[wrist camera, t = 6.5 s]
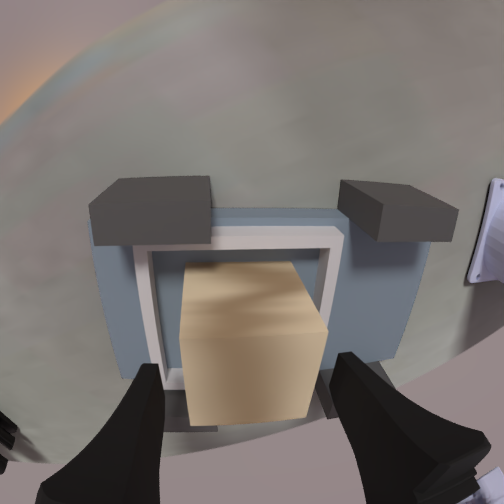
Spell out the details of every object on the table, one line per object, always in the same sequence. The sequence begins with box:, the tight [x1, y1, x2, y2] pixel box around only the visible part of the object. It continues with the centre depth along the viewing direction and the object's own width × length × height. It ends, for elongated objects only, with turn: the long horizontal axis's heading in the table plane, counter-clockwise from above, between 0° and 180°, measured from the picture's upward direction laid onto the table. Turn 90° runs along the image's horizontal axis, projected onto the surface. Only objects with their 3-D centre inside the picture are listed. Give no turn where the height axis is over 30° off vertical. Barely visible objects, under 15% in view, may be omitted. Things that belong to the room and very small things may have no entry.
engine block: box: [179, 261, 329, 426], centre depth 14 cm, size 5×5×6 cm
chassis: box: [88, 176, 459, 432], centre depth 16 cm, size 18×13×4 cm
